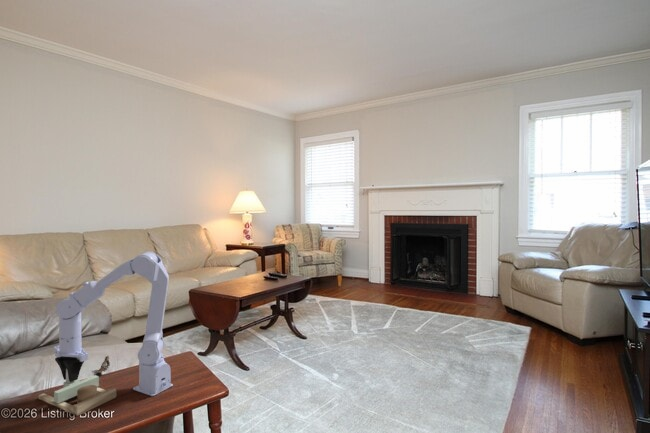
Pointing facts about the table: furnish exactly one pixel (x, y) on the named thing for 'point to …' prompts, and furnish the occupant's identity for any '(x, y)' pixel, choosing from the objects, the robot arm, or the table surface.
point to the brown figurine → (103, 366)
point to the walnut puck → (86, 392)
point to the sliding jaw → (73, 387)
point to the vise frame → (84, 405)
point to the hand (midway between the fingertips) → (70, 379)
